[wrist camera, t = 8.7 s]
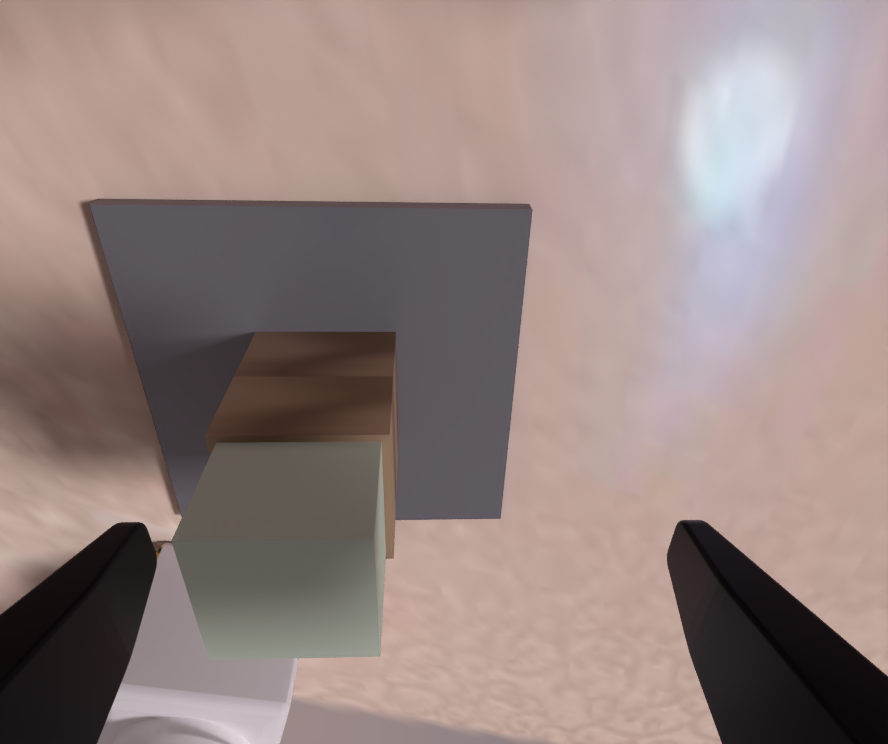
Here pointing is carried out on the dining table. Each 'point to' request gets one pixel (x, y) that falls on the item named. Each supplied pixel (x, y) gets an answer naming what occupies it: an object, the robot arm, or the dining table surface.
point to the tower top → (314, 419)
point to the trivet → (332, 320)
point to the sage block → (287, 550)
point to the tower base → (323, 357)
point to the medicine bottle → (193, 680)
